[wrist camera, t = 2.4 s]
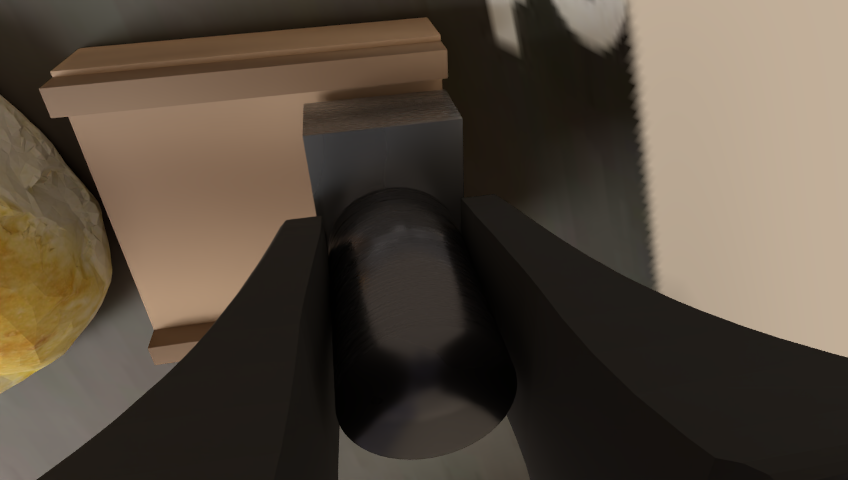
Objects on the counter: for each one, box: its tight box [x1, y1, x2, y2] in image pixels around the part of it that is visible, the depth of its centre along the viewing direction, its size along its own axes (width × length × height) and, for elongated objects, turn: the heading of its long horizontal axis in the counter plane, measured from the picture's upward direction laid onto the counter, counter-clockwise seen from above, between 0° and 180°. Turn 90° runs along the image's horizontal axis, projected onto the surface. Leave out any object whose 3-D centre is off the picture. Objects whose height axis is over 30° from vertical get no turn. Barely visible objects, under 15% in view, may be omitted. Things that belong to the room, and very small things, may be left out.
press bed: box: [39, 17, 448, 365], centre depth 12 cm, size 6×7×2 cm
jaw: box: [303, 89, 517, 460], centre depth 10 cm, size 5×3×5 cm, turn 3°
